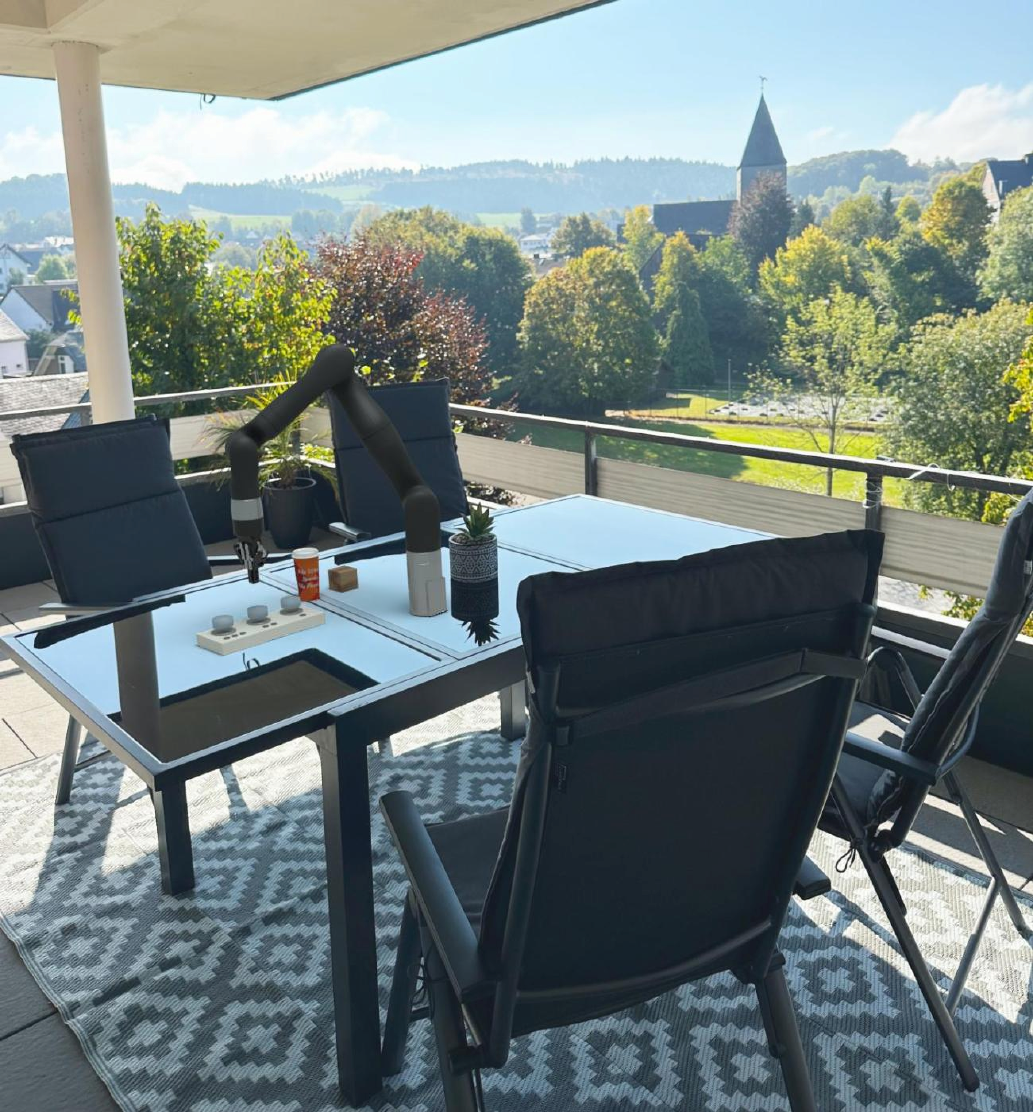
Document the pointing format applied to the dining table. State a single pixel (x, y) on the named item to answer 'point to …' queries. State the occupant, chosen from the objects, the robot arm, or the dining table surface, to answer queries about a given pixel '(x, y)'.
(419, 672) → the dining table surface
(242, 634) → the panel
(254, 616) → the two-dot button
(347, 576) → the walnut block
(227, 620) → the three-dot button
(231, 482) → the robot arm
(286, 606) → the one-dot button
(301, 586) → the paper cup
